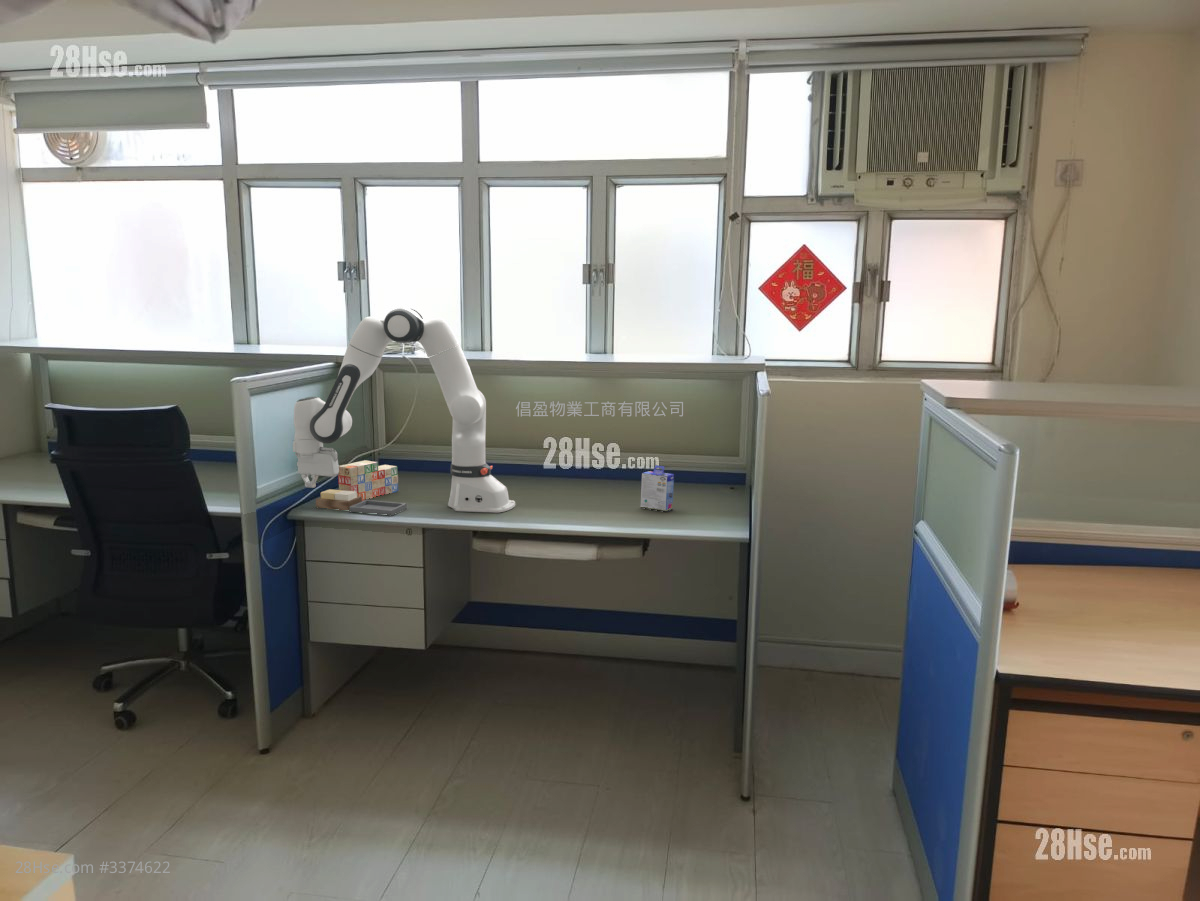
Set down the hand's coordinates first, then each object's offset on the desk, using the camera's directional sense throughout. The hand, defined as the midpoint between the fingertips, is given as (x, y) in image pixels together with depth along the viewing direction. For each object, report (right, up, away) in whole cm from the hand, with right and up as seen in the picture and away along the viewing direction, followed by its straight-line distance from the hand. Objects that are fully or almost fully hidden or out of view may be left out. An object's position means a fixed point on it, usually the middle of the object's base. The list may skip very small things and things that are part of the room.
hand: (310, 487), depth 268 cm
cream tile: (+13, -4, -3) cm, 13 cm away
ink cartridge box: (+115, -8, +4) cm, 115 cm away
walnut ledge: (+10, -6, -2) cm, 12 cm away
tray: (+24, -7, -5) cm, 26 cm away
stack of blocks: (+16, -4, +14) cm, 22 cm away
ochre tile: (+8, -3, -1) cm, 8 cm away
